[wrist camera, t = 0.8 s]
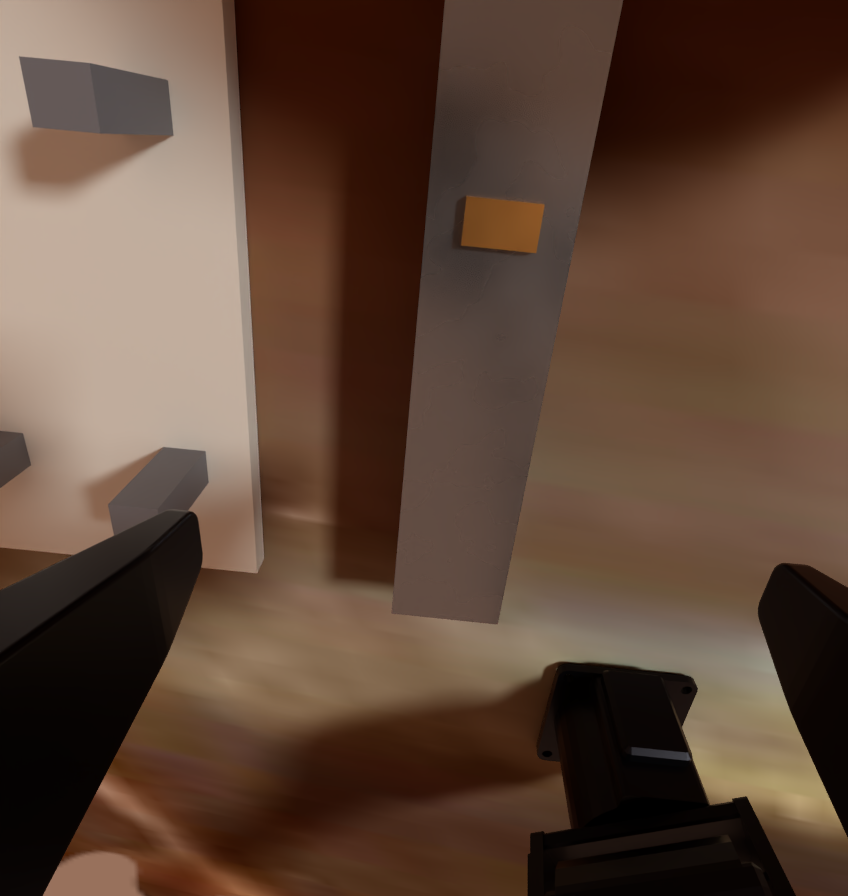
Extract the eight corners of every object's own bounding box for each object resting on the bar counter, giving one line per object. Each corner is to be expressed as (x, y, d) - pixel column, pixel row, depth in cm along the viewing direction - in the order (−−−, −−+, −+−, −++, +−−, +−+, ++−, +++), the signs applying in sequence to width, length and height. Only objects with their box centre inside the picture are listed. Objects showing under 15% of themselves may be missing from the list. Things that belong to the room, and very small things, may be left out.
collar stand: (264, 558, 26) (223, 644, 21) (-6, 531, 26) (-103, 611, 21) (228, -100, 16) (136, -198, 11) (-218, -142, 16) (-485, -254, 11)
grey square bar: (491, 557, 26) (497, 630, 22) (400, 548, 26) (390, 619, 22) (596, -16, 16) (639, -64, 12) (452, -31, 16) (451, -83, 12)
